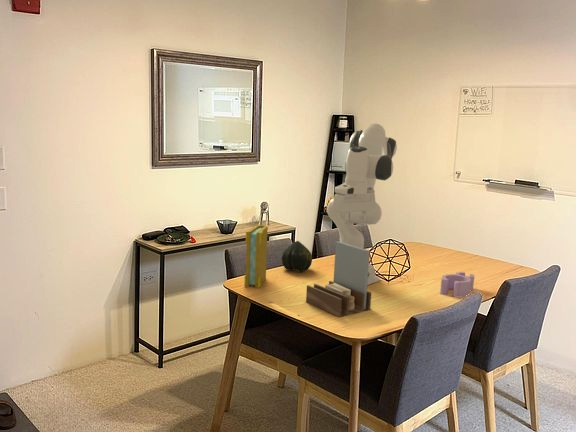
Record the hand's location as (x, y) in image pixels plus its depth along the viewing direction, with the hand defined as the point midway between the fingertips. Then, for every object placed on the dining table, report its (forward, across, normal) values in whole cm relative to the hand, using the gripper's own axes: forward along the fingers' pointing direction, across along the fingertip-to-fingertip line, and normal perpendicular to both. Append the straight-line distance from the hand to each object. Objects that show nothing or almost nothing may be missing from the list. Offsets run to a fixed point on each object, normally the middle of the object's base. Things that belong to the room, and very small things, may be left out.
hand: (353, 222), depth 231 cm
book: (+35, +14, -47) cm, 60 cm away
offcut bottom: (+34, +6, 0) cm, 34 cm away
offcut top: (+29, +6, 0) cm, 29 cm away
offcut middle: (+31, +6, 0) cm, 32 cm away
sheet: (+34, 0, 0) cm, 34 cm away
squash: (+35, -15, -54) cm, 66 cm away
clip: (+35, -58, +10) cm, 69 cm away
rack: (+35, +6, 0) cm, 36 cm away
